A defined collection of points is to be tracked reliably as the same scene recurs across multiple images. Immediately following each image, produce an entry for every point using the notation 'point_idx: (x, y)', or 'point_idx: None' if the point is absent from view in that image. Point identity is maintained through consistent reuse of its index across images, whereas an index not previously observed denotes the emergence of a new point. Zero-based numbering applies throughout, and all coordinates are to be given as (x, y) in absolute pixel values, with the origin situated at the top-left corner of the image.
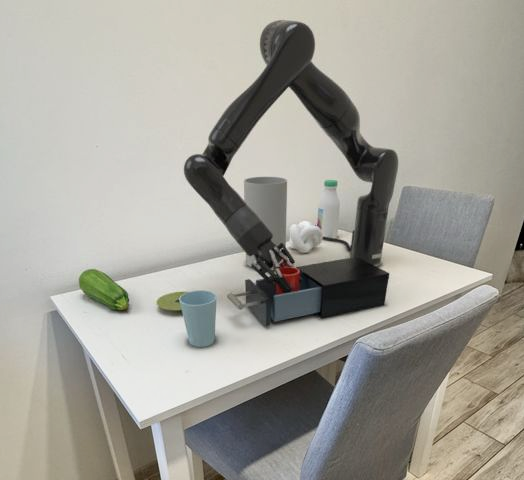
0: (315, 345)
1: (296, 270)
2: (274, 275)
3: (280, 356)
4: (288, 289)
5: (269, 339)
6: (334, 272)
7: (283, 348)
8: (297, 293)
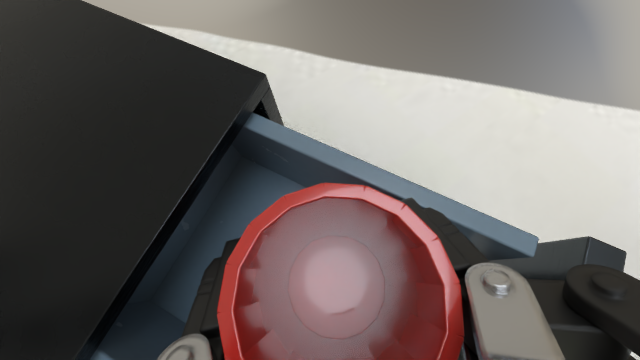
0: (447, 85)
1: (251, 255)
2: (624, 286)
3: (574, 119)
4: (431, 208)
5: (535, 206)
6: (46, 130)
7: (535, 138)
8: (387, 172)
